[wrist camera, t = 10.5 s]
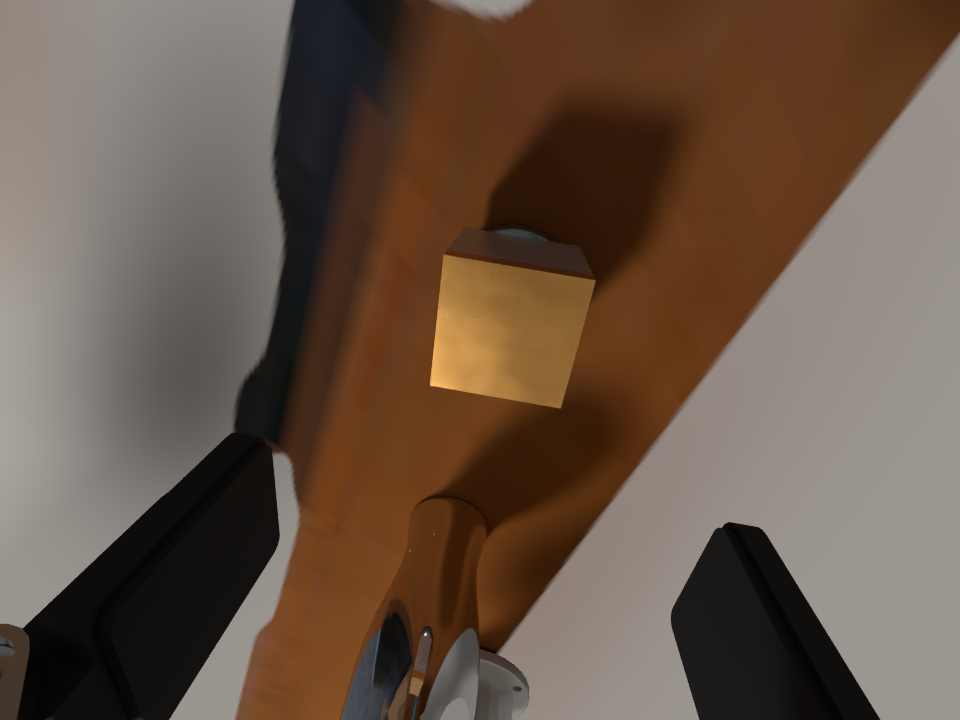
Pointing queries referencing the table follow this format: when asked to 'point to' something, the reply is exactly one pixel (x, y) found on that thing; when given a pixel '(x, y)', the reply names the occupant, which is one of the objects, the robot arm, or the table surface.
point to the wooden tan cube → (510, 316)
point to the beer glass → (425, 624)
